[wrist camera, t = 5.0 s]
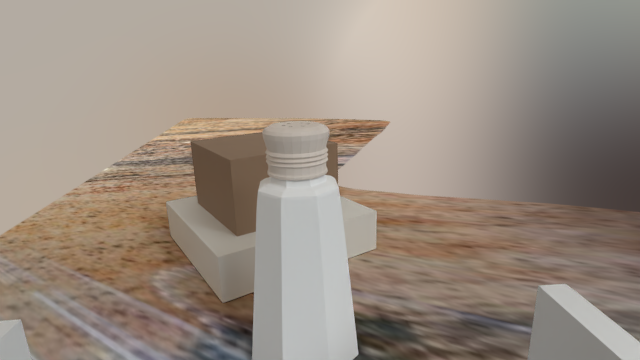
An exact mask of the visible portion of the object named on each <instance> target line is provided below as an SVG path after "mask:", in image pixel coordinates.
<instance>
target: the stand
mask: <svg viewBox="0 0 640 360" xmlns="http://www.w3.org/2000/svg"><path fill="white" fill-rule="evenodd" d="M326 147H327V149H328V151H327V153H328V156H327V157H328V160H327V162H326V167H327V169H328V172H327V173H326V174H325V175H330V176H332V177H334V178H335V179H336V182H337V185H338V156H337V143H335V142H331V141H327V145H326ZM191 149H192V158H193V166H194V174H195V183H196V191H197V196H192V197H187V198H182V199H177V200H172V201H167V202H166V207H167V214H168V221H169V228H170V235H171V237H172V238H173V239H174V241H175V242H176V243H177V245H178V246H179V247H180V248H181V250H182V251H183V252H184V254H185V255H186V256H187V258H188V259H189V260H190V261H191V263H192V264H193V265H194V267H195V268H196V269H197V270H198V272H199V273H200V274H201V276H202V277H203V278H204V279H205V281H206V282H207V283H208V285H209V286H210V287H211V289H212V290H213V291H214V292H215V294H216V295H217V296H218V298H219V299H220V300H221V301H222V303H224V302H227V301H230V300H233V299H236V298H238V297H241V296H244V295H247V294H250V293H252V292H254V278H255V244H256V211H257V196H258V189H259V185H260V181H262V180H263V179H265V178H268V177H270V176H269V175H268V173H267V171H268V164H267V162H266V160H267V158H266V155H267V154H266V153H265V152H266V150H267V148H266V145H265V142H264V139H263V134H262V132H261V133H253V134H245V135H237V136H229V137H221V138H213V139H206V140H198V141H191ZM340 199H341V205H342V214H343V223H344V232H345V240H346V249H347V258H351V257H354V256H357V255H359V254H362V253H365V252H368V251H371V250H373V249H376V220H377V211H375V210H373V209H371V208H368V207H366V206H363V205H361V204H359V203H356V202H354V201H351V200H349V199H347V198H344V197H342V196H340Z"/></svg>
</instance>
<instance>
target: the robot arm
mask: <svg viewBox="0 0 640 360" xmlns="http://www.w3.org/2000/svg"><path fill="white" fill-rule="evenodd" d="M0 360H32V358H31V355H30V351H29V347H28V344H27V340H26V336H25V333H24V329H23V326H22V322H21V319H20V320H4V321H0ZM528 360H640V342H639V341H638V340H636V339H635V338H634V337H633V336H631V335H630V334H629V333H628V332H626V331H625V330H624V329H623V328H621V327H620V326H619V325H618V324H616V323H615V322H614V321H612V320H611V319H610V318H609V317H607V316H606V315H605V314H604V313H602V312H601V311H600V310H599V309H597V308H596V307H595V306H594V305H592V304H591V303H590V302H588V301H587V300H586V299H585V298H583V297H582V296H581V295H580V294H578V293H577V292H576V291H575V290H573V289H572V288H571V287H570V286H568V285H567V284H554V285H539V286H538V291H537V298H536V305H535V312H534V319H533V326H532V333H531V340H530V347H529V354H528Z"/></svg>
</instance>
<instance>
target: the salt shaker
mask: <svg viewBox="0 0 640 360" xmlns="http://www.w3.org/2000/svg"><path fill="white" fill-rule="evenodd" d="M262 134H263V139H264V142H265V145H266V148H267V150H266V152H265V153H266V154H267V155H266V158H267V160H266V162H267V164H268V171H267V173H268V175H269V176H270V177H268V178H265V179H263V180H262V181H260V185H259V189H258V196H257V211H256V244H255V278H254V312H253V345H252V360H353V359H354V358H355V357H356V356H357V355H358V346H357V337H356V328H355V319H354V311H353V302H352V293H351V284H350V276H349V267H348V258H347V249H346V240H345V232H344V223H343V214H342V205H341V199H340V193H339V187H338V185H337V182H336V179H335V178H334V177H332V176H330V175H325V174H326V173H327V172H328V169H327V167H326V162H327V160H328V157H327V156H328V153H327V151H328V149H327V147H326V145H327V141H328V137H329V129H328V127H327V126H325V125H323V124H321V123H318V122H311V121H291V122H280V123H275V124H272V125H270V126H268V127H266V128H265V129H264V130H263V132H262Z"/></svg>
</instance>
